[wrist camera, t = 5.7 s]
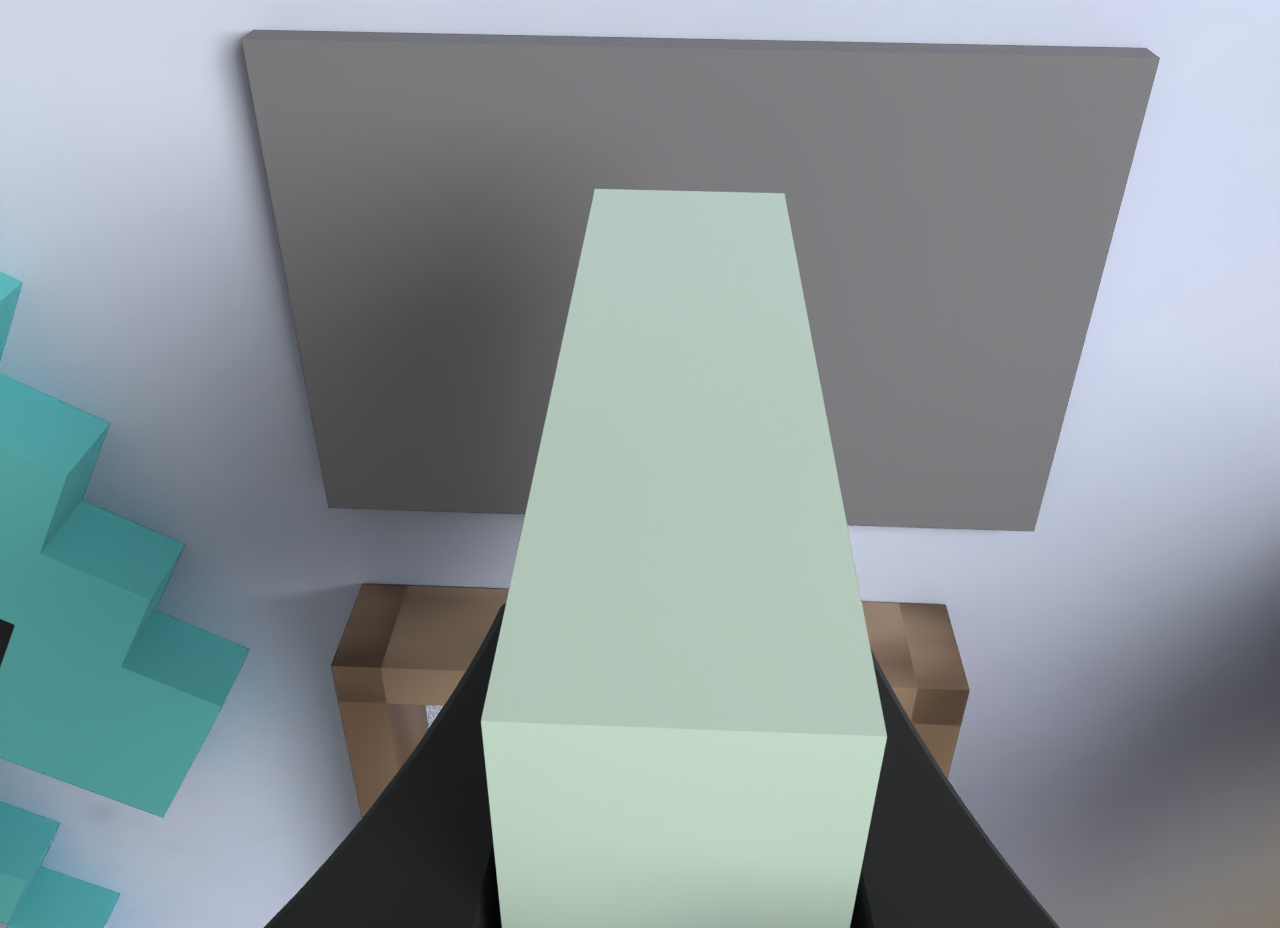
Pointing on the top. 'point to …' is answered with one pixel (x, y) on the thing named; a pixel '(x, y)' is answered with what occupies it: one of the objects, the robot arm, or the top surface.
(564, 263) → the gray mat
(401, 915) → the robot arm
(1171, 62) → the top surface
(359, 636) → the rack
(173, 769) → the alien figure
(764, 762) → the pale green block
